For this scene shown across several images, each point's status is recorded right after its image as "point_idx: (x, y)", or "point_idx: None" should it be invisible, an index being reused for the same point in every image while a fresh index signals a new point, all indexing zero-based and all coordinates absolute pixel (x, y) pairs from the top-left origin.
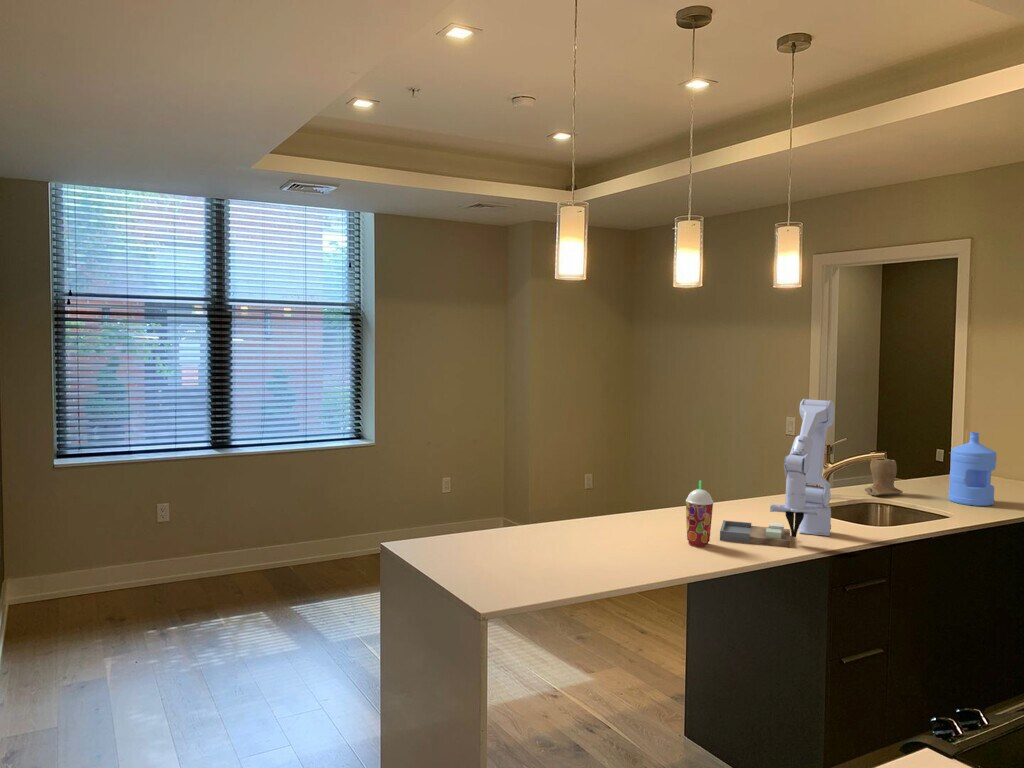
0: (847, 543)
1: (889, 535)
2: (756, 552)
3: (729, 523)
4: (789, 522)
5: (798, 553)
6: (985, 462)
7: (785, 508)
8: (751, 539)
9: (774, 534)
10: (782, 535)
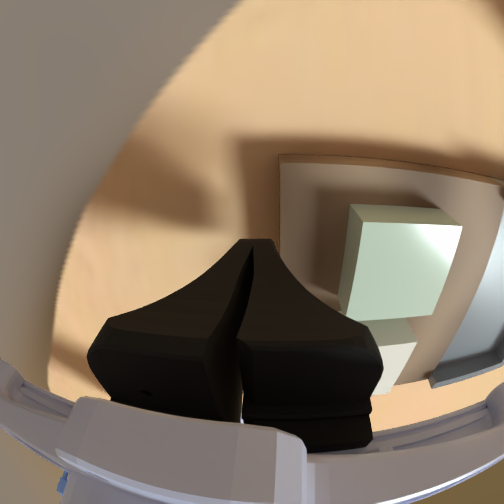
0: (69, 323)
1: (55, 389)
2: (453, 4)
3: (490, 360)
4: (306, 296)
5: (221, 27)
6: (61, 485)
7: (424, 480)
8: (494, 181)
9: (405, 217)
10: (329, 291)
